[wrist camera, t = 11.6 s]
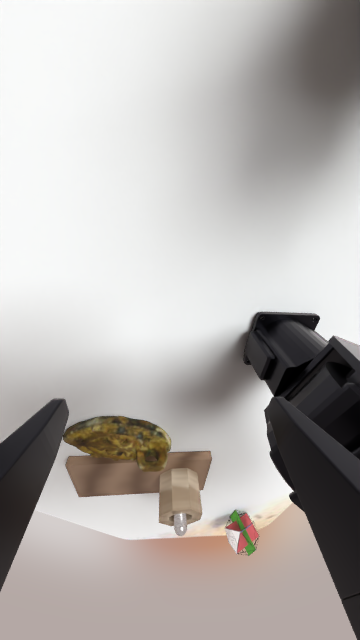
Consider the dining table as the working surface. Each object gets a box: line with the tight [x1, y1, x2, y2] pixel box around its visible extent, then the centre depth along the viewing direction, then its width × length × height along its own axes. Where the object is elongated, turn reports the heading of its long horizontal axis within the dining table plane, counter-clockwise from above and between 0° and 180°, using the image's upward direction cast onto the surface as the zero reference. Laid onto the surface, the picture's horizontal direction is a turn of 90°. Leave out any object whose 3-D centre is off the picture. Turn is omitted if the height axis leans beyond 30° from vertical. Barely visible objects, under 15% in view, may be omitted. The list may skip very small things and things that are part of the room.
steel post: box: [174, 513, 187, 536], centre depth 30 cm, size 2×2×7 cm
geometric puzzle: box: [225, 510, 259, 556], centre depth 44 cm, size 7×7×8 cm
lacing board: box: [65, 451, 212, 497], centre depth 33 cm, size 22×11×1 cm, turn 86°
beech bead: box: [159, 468, 202, 526], centre depth 31 cm, size 6×6×5 cm
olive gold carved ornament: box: [63, 416, 171, 472], centre depth 27 cm, size 9×5×15 cm
